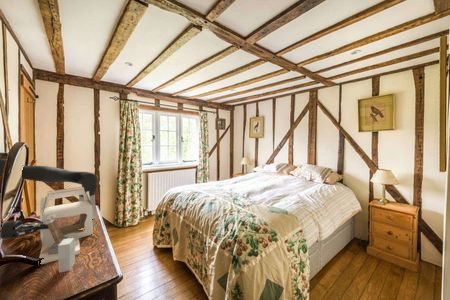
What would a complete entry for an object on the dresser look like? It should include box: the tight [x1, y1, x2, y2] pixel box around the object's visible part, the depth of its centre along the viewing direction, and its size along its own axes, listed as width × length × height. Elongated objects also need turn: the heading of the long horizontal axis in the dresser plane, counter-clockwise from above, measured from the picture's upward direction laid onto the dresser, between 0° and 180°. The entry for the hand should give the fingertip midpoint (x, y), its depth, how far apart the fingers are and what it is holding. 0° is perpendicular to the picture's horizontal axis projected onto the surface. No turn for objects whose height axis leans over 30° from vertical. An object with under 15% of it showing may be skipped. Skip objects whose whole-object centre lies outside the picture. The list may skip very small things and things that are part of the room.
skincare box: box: [57, 238, 76, 274], centre depth 87 cm, size 6×4×12 cm
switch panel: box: [38, 236, 81, 265], centre depth 99 cm, size 14×15×6 cm
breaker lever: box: [44, 214, 64, 244], centre depth 97 cm, size 6×2×14 cm, turn 18°
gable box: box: [39, 186, 94, 247], centre depth 113 cm, size 22×13×28 cm, turn 137°
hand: (51, 225), depth 97 cm, fingers closed
